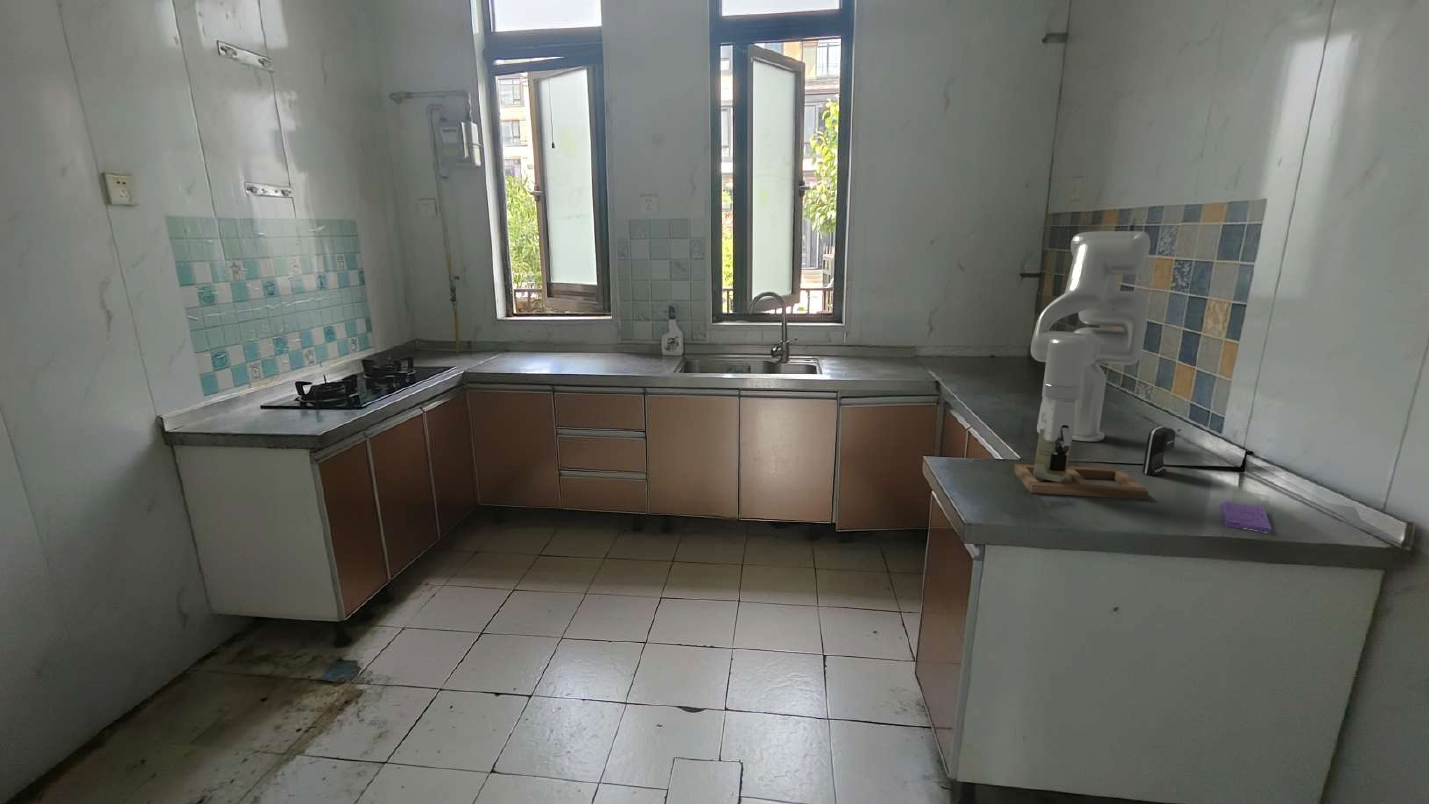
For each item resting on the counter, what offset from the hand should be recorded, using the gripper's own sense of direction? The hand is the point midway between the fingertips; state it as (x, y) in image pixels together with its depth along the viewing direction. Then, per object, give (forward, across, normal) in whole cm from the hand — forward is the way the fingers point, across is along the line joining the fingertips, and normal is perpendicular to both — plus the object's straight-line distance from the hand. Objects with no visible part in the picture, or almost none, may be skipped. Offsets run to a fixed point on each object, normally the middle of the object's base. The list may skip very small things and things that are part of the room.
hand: (1051, 464), depth 148 cm
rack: (+5, 0, +6) cm, 7 cm away
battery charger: (+5, -11, +28) cm, 30 cm away
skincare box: (+3, 0, 0) cm, 3 cm away
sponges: (+5, +15, +33) cm, 36 cm away
